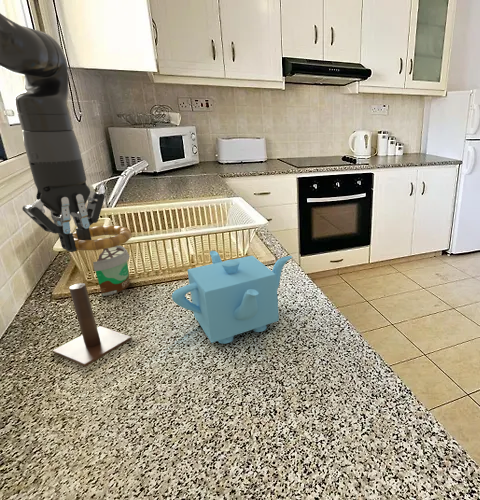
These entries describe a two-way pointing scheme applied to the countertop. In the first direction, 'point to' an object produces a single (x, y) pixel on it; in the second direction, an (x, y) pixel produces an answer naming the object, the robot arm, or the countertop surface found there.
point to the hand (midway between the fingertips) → (78, 248)
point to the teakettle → (232, 296)
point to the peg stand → (89, 333)
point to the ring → (120, 238)
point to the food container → (112, 270)
